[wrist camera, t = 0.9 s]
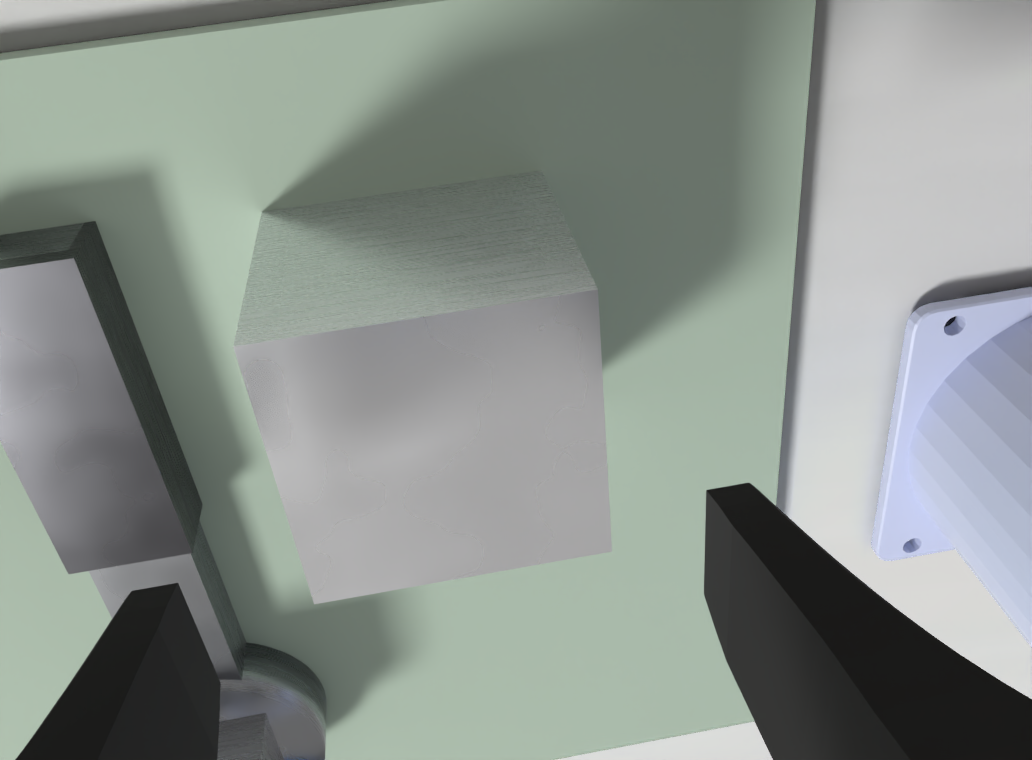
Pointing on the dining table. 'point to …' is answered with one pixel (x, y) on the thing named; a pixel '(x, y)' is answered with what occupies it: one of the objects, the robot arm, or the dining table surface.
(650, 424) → the mat
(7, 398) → the handled tool
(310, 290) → the brushed metal cube
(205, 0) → the dining table surface
